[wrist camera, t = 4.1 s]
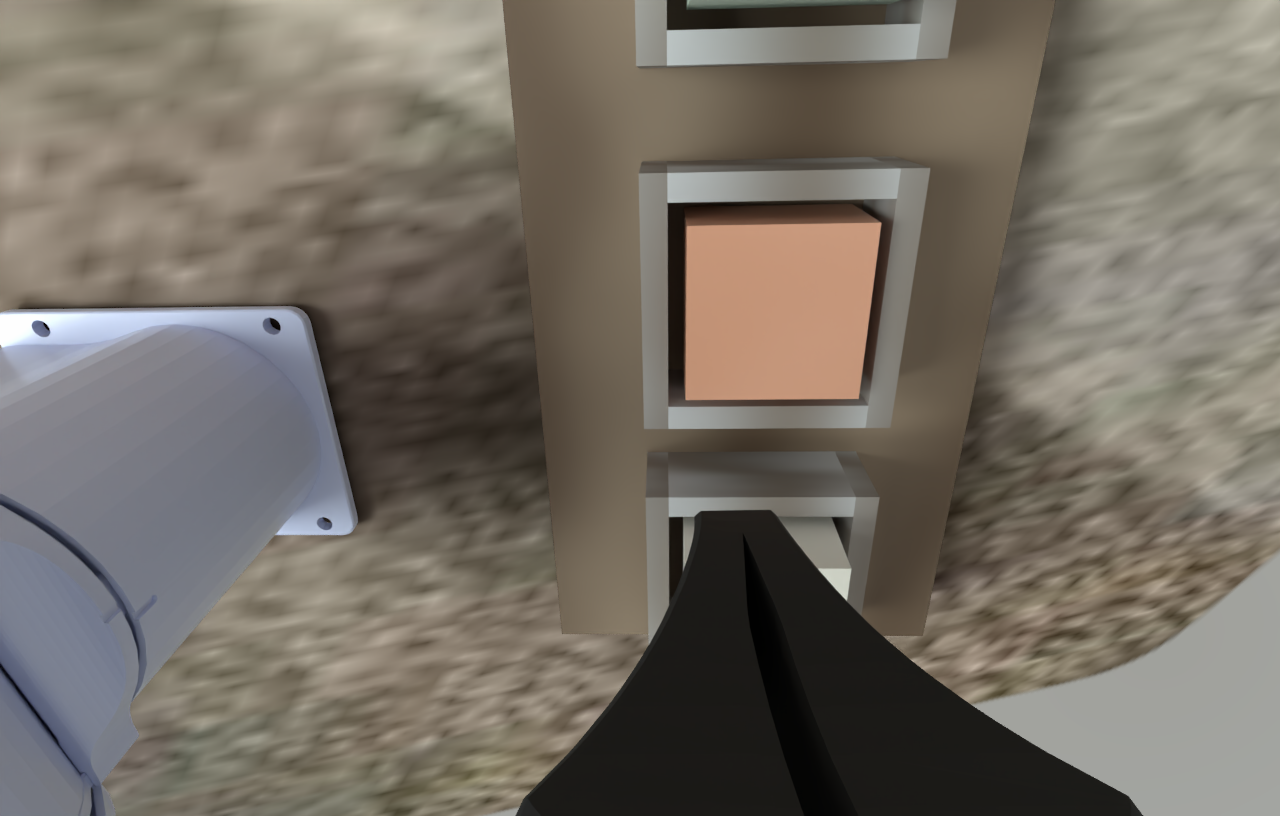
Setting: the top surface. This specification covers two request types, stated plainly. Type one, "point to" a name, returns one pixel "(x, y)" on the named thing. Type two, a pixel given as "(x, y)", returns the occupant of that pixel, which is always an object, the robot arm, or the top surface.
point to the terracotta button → (776, 300)
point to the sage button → (776, 3)
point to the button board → (754, 176)
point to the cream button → (805, 546)
